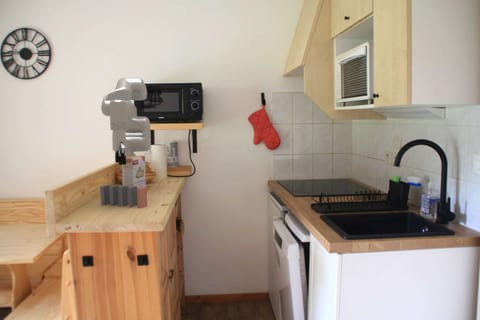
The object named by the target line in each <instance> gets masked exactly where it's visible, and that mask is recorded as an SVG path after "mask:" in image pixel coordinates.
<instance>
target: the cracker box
mask: <svg viewBox="0 0 480 320" xmlns="http://www.w3.org/2000/svg"><path fill="white" fill-rule="evenodd" d="M123 166H124V186H128V188H129V187H132V186H137V188H140V187H143V186H144V187H147V186H146V185H147V184H146V183H147V182H146V156H145V155H136V156H133V157H127V158H126V165H123Z"/></svg>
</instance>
